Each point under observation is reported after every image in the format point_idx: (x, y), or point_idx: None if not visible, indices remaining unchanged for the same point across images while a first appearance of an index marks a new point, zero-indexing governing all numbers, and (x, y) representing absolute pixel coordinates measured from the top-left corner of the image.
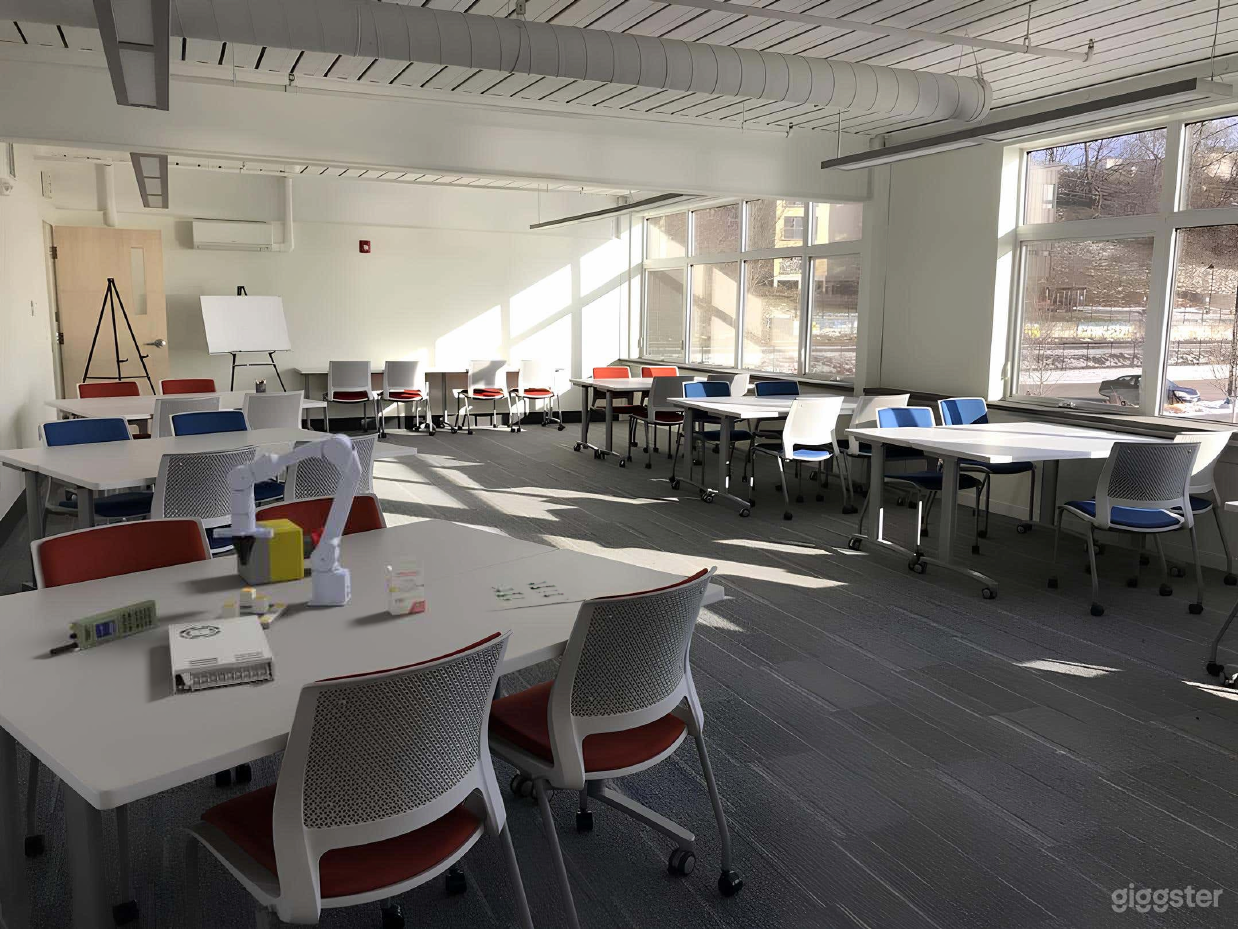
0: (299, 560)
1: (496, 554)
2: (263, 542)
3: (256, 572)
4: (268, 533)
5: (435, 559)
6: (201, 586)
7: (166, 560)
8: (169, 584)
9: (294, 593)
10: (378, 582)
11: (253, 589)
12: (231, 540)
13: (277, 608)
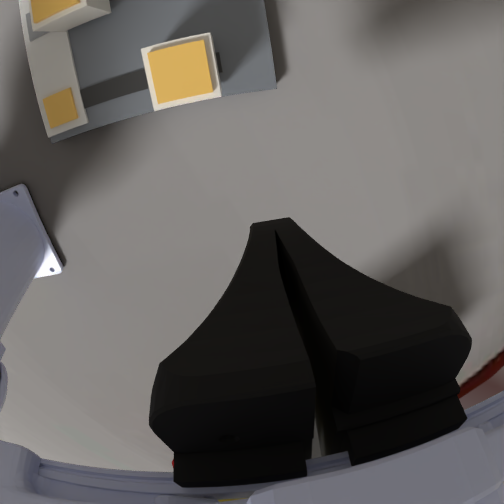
0: None
1: (33, 451)
2: (312, 456)
3: None
4: (2, 485)
5: (75, 449)
6: (443, 290)
7: (488, 376)
8: (498, 284)
9: (150, 290)
10: (41, 375)
11: (156, 92)
12: (464, 344)
13: (49, 68)
